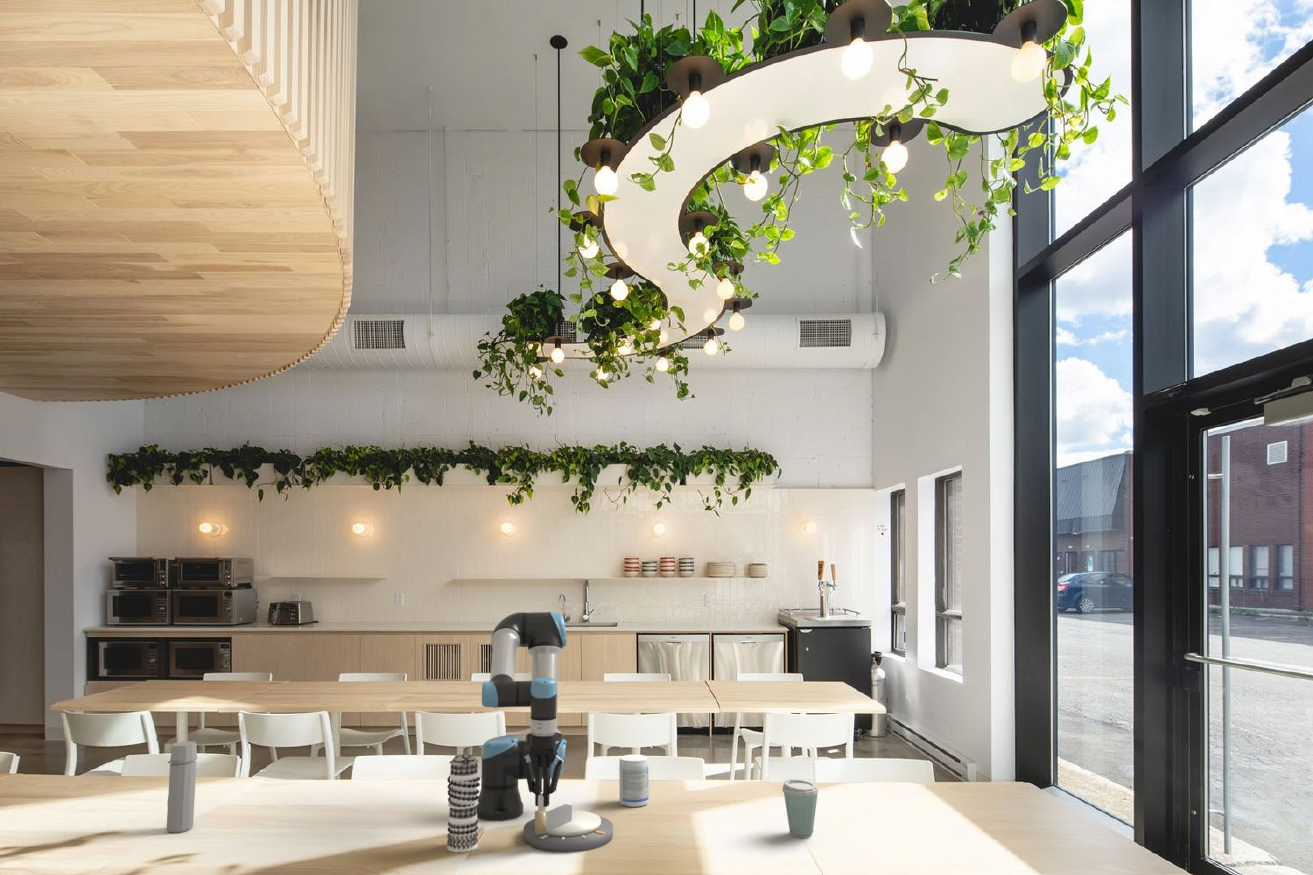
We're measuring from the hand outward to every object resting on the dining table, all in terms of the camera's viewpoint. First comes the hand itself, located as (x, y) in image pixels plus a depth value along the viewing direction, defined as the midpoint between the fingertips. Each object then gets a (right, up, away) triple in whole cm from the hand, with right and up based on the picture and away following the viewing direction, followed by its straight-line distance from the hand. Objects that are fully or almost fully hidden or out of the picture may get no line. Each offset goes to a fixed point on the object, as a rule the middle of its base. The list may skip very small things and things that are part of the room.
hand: (542, 817), depth 263 cm
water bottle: (-110, -8, +11) cm, 111 cm away
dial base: (+7, -8, +5) cm, 12 cm away
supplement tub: (+26, -11, +38) cm, 47 cm away
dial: (+6, -4, +3) cm, 8 cm away
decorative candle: (-22, -7, -4) cm, 23 cm away
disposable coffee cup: (+76, -8, +7) cm, 76 cm away
